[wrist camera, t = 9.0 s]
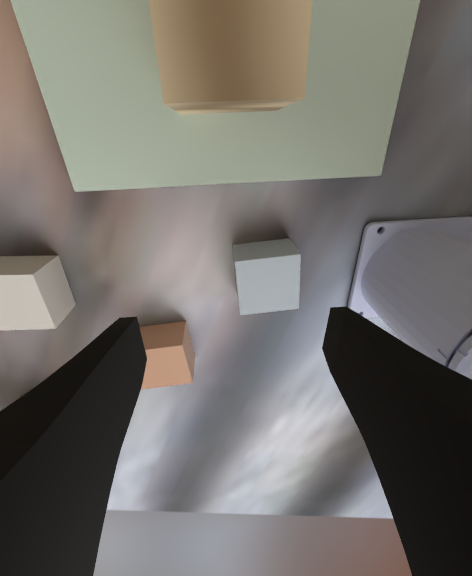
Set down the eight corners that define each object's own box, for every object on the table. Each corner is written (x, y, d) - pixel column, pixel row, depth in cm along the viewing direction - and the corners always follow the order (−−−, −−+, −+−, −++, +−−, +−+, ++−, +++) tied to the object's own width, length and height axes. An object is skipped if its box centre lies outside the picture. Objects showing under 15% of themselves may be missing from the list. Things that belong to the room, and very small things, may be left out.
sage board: (443, -156, 10) (460, -178, 10) (373, 174, 16) (380, 175, 16) (-31, -157, 9) (-51, -181, 9) (81, 189, 16) (74, 191, 15)
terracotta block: (186, 319, 21) (182, 345, 19) (195, 355, 23) (192, 382, 21) (137, 326, 21) (126, 352, 19) (150, 361, 23) (142, 389, 21)
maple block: (281, -31, 11) (323, -139, 7) (276, 110, 14) (304, 98, 9) (162, -30, 11) (128, -140, 7) (180, 114, 13) (163, 103, 9)
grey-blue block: (288, 237, 18) (300, 254, 16) (288, 286, 20) (298, 308, 18) (232, 244, 18) (234, 261, 16) (237, 292, 20) (240, 315, 18)
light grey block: (59, 254, 18) (32, 274, 15) (76, 303, 20) (55, 328, 17) (-3, 255, 17) (-41, 275, 15) (21, 304, 19) (-9, 330, 17)
